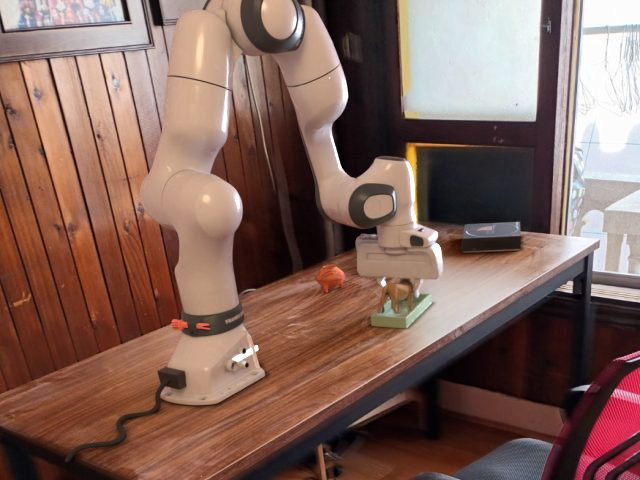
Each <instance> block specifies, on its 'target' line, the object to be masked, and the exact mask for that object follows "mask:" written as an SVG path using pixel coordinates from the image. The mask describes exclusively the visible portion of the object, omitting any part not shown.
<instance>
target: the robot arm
mask: <svg viewBox="0 0 640 480" xmlns="http://www.w3.org/2000/svg"><path fill="white" fill-rule="evenodd" d="M334 45H335V44H334V42H333V40H332V38H331V36H330V34H329V32H328V29H327V28H326V26H325V24H324V22H323V19H322V18H321V17H320V15H319V13H318V12H317V10H315V8H313V7H312V6H309V5H305V4H300V2H299V1H298V0H206V1H205V3H204V5H203V7H202V8H201V9H190V10H187V11H185V12H183V13H182V14H181V15H180V16H179V17H178V19H177V21H176V24H175V27H174V32H173V35H172V40H171V45H170V51H169V57H168V64H167V73H166V87H165V100H164V112H163V123H162V127H161V128H162V129H161V133H160V139H159V141H158V145H157V148H156V152H155V155H154V158H153V162H152V164H151V168H150V171H149V173H148V174H147V175H146V176H145V177H144V179H143V180H142V183H141V185H140V190H139V200H140V203H141V207H142V209H143V211H144V212H145V213H146V214H147V216H148V217H150V218H151V219H152V220H153V221H154V222H156V223H157V224H158V225H159V226H161V227H163V228H165V229H167V230H171V231H175V232H176V234H177V237H178V242H179V243H178V247H179V248H178V249H179V250H178V261H177V263H176V266H175V268H174V276H175V280H176V285H177V290H178V294H179V298H180V303H181V307H182V309H181V315H180V316H181V317H180V319H176V318H174V319H173V318H172V320H171V323H170V328H171V329H172V330H173V331H178V330H179V331H181V332H182V333H181V335H180V338H179V340H178V342H177V344H176V346H175V348H174V350H173V352H172V355H171V357H170V359H169V361H168V362H167V366H164V367H162V368H160V369H158V370H157V376H158V379H159V384H160V385H159V386H158V387H157V389H156V390H155V391H156V392H155V394H154V400H155V401H154V402H155V405H154V406H153V407H152V408H151V409H148V410H146V411H140V412H132V413H125V414H124V415H122V416H120V417H119V418H118V419H117V420H116V422H115V425H116V428H117V430H118V432H119V435H118V436H117V437H116V438H114V439H111V440H106V441H95V442H87V443H83V444H80V445H78V446H75V447H74V448H72V449H71V450H70V451H69V452H68V454H67V455H66V456H65V458H64V462H65V463H68V462H71V461H72V459H73V458H74V457H75V455H76V454H78V453H80V452H81V451H85V450H88V449H89V450H90V449H95V448H97V449H98V448H108V447H112V446H115V445H118V444H120V443H121V442H122V441H124V439H125V438H126V436H127V433H126V429H125V428H124V427H123V425H122V424H123V423H124V422H125V421H127V420H130V419H136V418H137V419H138V418H140V417H146V416H150V415H154V414H155V413H157V411H159V409H160V408H161V404H162V403H161V400H163V401H165V402H169V403H173V404H177V405H187V406H210V405H216V404H219V403H220V402H222V401H225V400H226V399H228V398H230V397H231V396H233V395H235V394H236V393H239V392H240V391H242V390H243V389H245V388H247V387H249V386H251V385H252V384H254V383H256V382H257V381H260V380H261V379H263V378H264V377H265V376H266V372H265V370H264V369H263V368H262V367H261V366H260V361H259V358H258V355H257V352H258V351H259V346H258V345H257V344H256V345H254V341H253V338H252V336H251V334H250V332H249V331H248V329H247V327H246V325H245V311H244V310H245V309H244V307H243V304H242V301H241V300H240V299H239V294H238V287H237V283H236V275H235V271H234V261H233V253H234V251H233V250H234V240H235V239H234V238H235V234H236V231H237V230H238V228H239V226H240V224H241V222H242V219H243V214H244V209H243V208H244V207H243V201H242V198H241V196H240V194H239V192H238V190H237V189H236V188H235V187H234V186H233V185H232V184H230V183H229V182H228V181H226V180H224V179H223V178H221V177H219V176H218V175H216V174H213V173H211V171H212V168H213V166H214V163H215V160H216V158H217V155H218V154H219V152H220V150H221V149H222V148H223V147H224V146H225V144H226V142H227V140H228V135H229V127H230V126H229V125H230V117H231V115H230V114H231V105H232V95H233V94H232V92H233V83H234V71H235V67H236V65H237V61H238V59H239V58H240V56H248V57H260V56H266V55H268V54H269V55H270V56H271V57H272V58H273V59H274V60H275V62H276V63H277V65H278V67H279V68H280V71H281V74H282V77H283V81H284V83H285V85H286V88H287V91H288V94H289V97H290V100H291V102H292V105H293V107H294V111H295V115H296V120H297V125H298V129H299V134H300V137H301V140H302V145H303V147H304V150H305V154H306V157H307V159H308V160H307V161H308V163H309V166H310V169H311V172H312V176H313V180H314V190H315V196H314V197H315V204H316V207H317V210H318V212H319V214H320V215H321V217H322V218H323V219H325V220H326V221H327V222H329V223H331V224H332V223H333V224H339V225H346V226H349V227H352V228H357V229H361V230H368V229H372V228H375V227H376V233H372V234H367V233H361V234H360V235H359V236H357V237H356V240H355V250H356V272H357V274H358V275H359V276H360V277H366V278H367V277H369V278H376V282H377V284H378V285H379V287H380V289H381V291H382V290H383V287H384V286H385V285H386V284H387V283H386V279H387V278H388V279H389V278H390V279H400V278H410V279H414V280H415V283H416V287H415V288H413V289H412V290H411V297H414V298H418V297H419V293H420V288H421V286H422V284H423V283H424V280H431V281H433V280H436V281H437V280H438V279H439V278H440V277H441V276H442V274H443V272H444V262H443V254H442V249H441V247H440V245H439V244H438V243H437V242H436V241H437V240H438V238H439V233H438V231H437V230H435V229H432V228H430V227H427V226H424V225H422V224H420V223H417V217H416V213H415V208H414V207H415V202H416V193H415V192H416V190H415V179H414V173H413V169H412V165H411V163H410V161H408V159H406V158H404V157H400V156H391V155H380V156H378V157H375V159H374V160H373V162H372V164H371V165H370V166H369V168H368V169H367V170H366V171H365V172H363V173H362V174H361V175H359V176H357V177H352V176H350V175H349V174H347V172H345V170H344V169H343V168H342V165H341V161H340V158H339V154H338V151H337V147H336V144H335V141H334V137H333V129H332V128H333V124H334V122H335V121H336V120H337V119H338V118H340V116H341V115H342V113H343V112H344V110H345V109H346V107H347V103H348V99H349V92H348V85H347V79H346V75H345V73H344V69H343V66H342V64H341V61H340V59H339V55H338V53H337V50H336V48H335V46H334Z"/></svg>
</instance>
